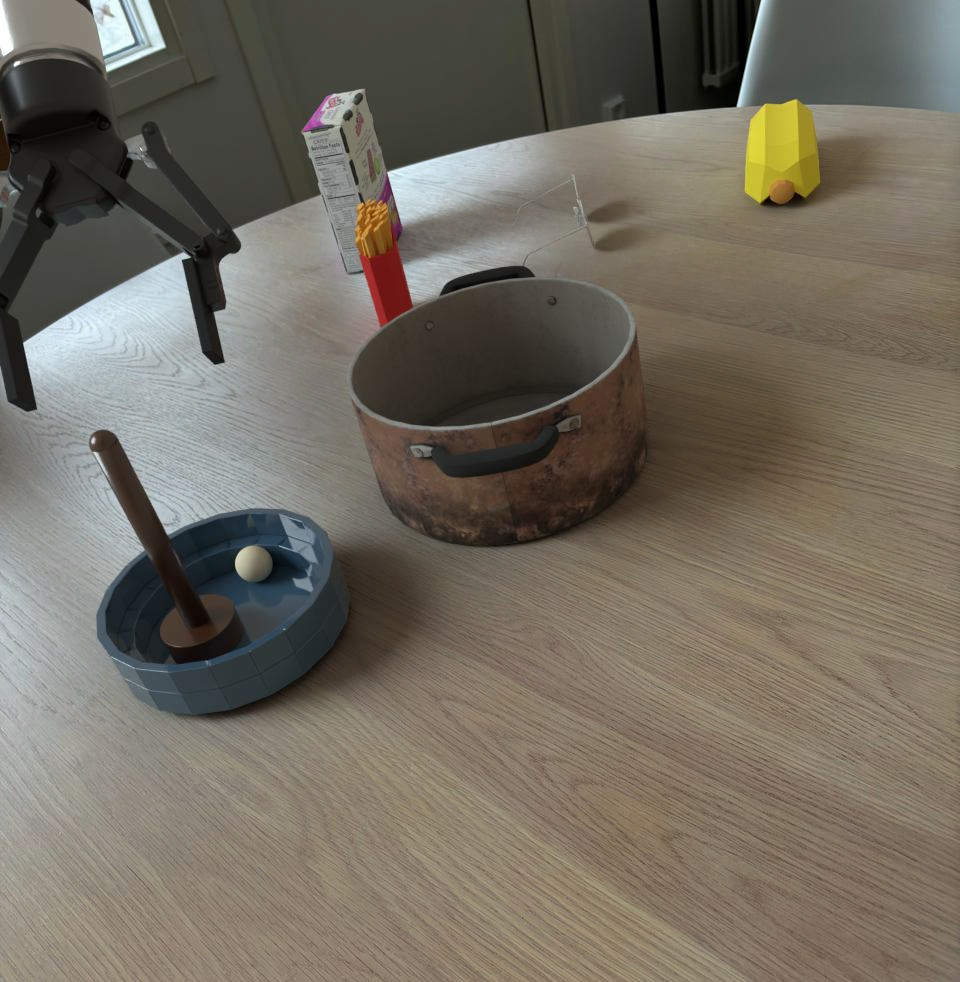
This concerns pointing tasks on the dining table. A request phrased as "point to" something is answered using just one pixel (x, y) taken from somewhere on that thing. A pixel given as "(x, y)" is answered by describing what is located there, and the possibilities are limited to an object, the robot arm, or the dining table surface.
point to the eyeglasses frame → (577, 216)
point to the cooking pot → (503, 407)
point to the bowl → (260, 605)
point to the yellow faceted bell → (781, 153)
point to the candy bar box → (348, 167)
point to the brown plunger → (169, 566)
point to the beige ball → (253, 563)
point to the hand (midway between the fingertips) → (118, 382)
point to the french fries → (381, 262)
